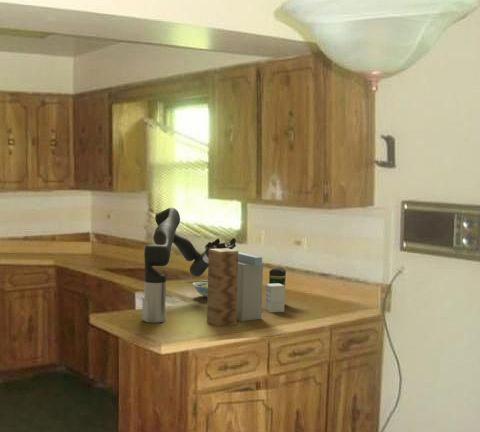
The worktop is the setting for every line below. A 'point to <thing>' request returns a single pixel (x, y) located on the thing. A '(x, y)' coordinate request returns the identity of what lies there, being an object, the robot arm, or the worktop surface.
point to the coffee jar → (277, 276)
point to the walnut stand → (222, 287)
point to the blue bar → (249, 259)
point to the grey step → (249, 291)
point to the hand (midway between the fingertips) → (226, 240)
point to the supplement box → (274, 297)
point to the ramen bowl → (201, 287)
